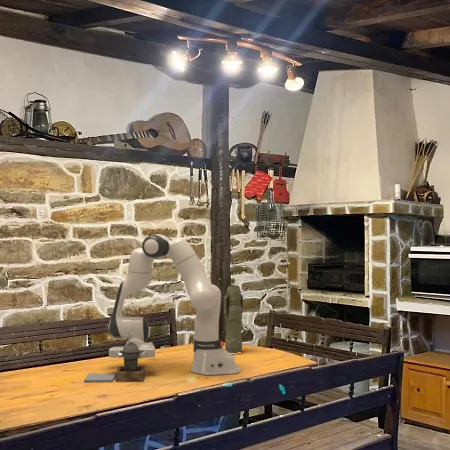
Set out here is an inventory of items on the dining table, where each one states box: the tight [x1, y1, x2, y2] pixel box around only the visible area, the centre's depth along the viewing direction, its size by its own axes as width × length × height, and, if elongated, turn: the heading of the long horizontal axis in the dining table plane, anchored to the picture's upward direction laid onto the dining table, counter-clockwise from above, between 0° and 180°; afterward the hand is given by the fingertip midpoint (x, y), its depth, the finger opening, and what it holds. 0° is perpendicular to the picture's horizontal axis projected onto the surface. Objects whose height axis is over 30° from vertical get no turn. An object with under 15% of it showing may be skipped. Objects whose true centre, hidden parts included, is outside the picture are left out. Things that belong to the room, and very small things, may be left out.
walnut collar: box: [115, 365, 146, 383], centre depth 263 cm, size 12×12×4 cm
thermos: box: [223, 285, 244, 353], centre depth 319 cm, size 9×12×35 cm
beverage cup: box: [122, 332, 139, 372], centre depth 264 cm, size 7×7×20 cm
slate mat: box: [83, 372, 116, 383], centre depth 263 cm, size 12×12×1 cm
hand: (130, 355), depth 263 cm, fingers open, 8 cm apart
